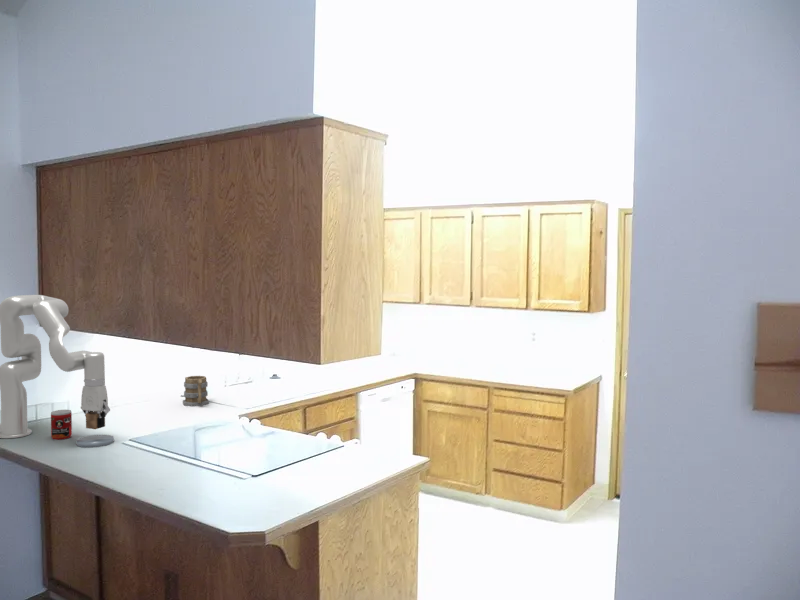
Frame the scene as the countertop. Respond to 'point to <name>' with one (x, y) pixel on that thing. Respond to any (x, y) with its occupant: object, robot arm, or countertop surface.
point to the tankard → (195, 391)
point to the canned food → (61, 424)
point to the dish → (94, 441)
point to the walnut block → (92, 420)
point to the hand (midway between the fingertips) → (95, 426)
